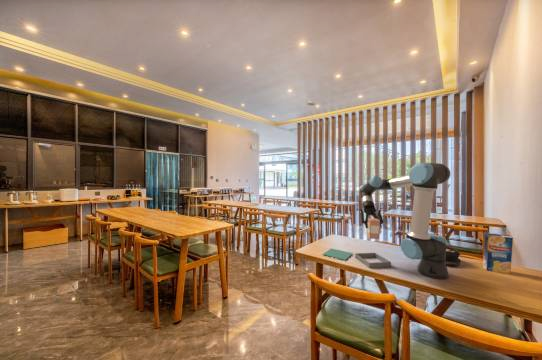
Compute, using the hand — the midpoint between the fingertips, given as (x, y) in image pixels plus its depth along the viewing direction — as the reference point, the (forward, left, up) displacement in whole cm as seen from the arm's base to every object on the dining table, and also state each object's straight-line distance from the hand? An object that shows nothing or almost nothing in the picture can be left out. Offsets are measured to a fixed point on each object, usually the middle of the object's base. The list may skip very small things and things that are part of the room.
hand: (374, 232), depth 149 cm
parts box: (+3, -1, -4) cm, 6 cm away
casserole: (+1, -53, -21) cm, 57 cm away
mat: (+18, +16, -20) cm, 32 cm away
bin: (+3, -1, -20) cm, 21 cm away
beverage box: (-17, -72, -21) cm, 77 cm away
